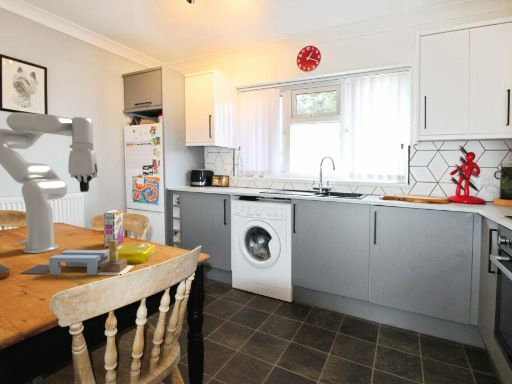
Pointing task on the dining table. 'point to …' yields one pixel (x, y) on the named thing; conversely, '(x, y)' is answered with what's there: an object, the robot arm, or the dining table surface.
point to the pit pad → (38, 270)
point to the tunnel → (78, 260)
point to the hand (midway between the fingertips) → (84, 191)
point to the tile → (117, 272)
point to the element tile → (136, 252)
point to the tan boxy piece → (113, 259)
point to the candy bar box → (113, 226)
